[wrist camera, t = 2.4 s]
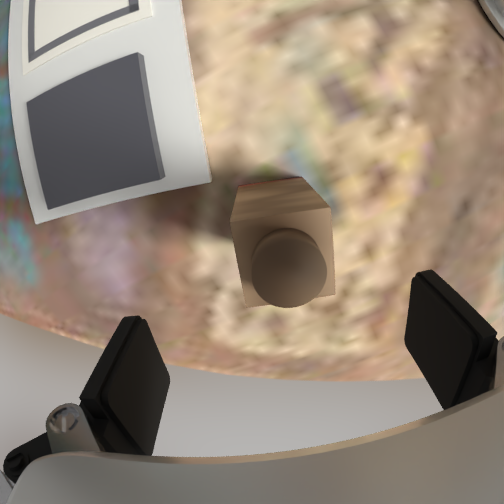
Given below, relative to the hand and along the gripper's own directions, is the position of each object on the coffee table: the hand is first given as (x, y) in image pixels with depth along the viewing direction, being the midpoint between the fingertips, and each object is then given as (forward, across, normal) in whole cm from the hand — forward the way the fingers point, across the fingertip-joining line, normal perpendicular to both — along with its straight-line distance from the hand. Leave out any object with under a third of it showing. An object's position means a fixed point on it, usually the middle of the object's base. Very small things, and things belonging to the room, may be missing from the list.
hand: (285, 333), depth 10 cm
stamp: (+13, -1, -1) cm, 13 cm away
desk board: (+13, +11, -17) cm, 24 cm away
